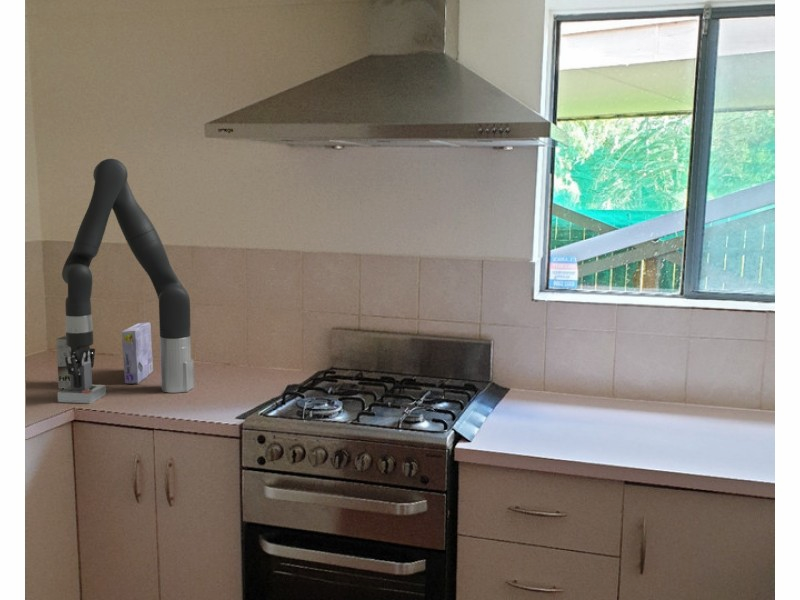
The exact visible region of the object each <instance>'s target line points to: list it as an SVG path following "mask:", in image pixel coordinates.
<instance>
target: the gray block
mask: <svg viewBox="0 0 800 600" xmlns="http://www.w3.org/2000/svg"><path fill="white" fill-rule="evenodd" d="M76 365H80V364H76ZM77 369H78V367H77ZM71 370H72V368H71ZM92 371H93V370H92V368H91V362H89V361H86V362H84V365H83V367H82V368H81V383H82V386H81V387H80V388H75V387H74V384H73V375H70V380H71V390H74V391H79V392H82V391H83V390H89V389H90V388H92V385H93V375H92V373H93V372H92Z"/></svg>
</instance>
